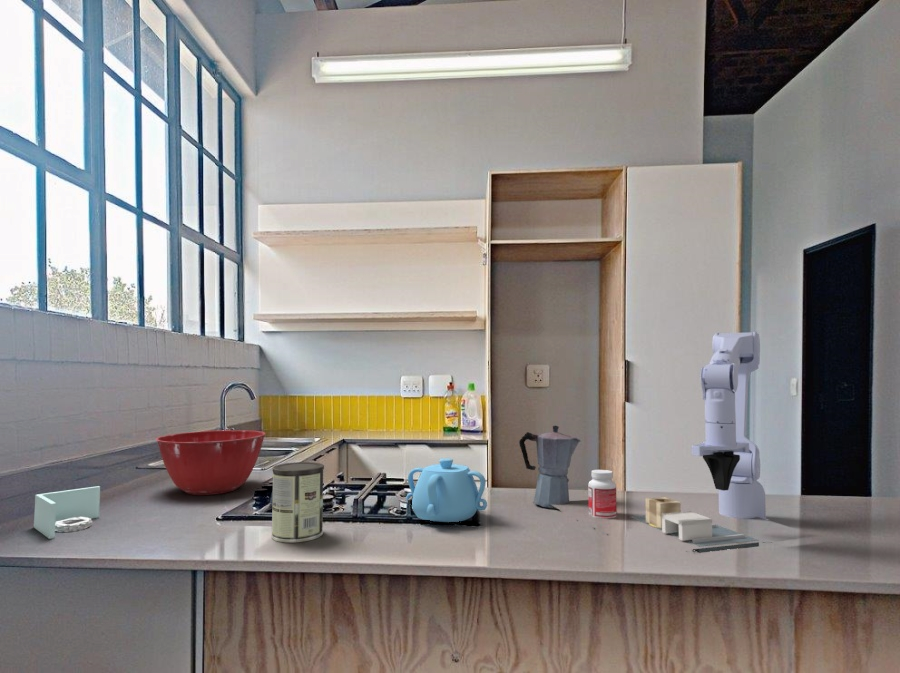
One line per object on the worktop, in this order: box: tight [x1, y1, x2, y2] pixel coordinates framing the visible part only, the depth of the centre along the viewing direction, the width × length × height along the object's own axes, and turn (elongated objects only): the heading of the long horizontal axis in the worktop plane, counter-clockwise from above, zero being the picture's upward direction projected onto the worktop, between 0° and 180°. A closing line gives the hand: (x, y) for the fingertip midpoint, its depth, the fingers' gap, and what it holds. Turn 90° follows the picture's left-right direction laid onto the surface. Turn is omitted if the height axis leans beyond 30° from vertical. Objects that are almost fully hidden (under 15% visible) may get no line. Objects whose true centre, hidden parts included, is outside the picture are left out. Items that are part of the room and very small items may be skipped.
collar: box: [644, 496, 682, 528], centre depth 119 cm, size 5×5×5 cm
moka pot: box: [519, 425, 581, 509], centre depth 141 cm, size 10×15×20 cm, turn 89°
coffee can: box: [271, 461, 325, 543], centre depth 115 cm, size 10×10×14 cm
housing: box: [661, 510, 713, 541], centre depth 111 cm, size 7×6×4 cm
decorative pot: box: [405, 457, 488, 523], centre depth 128 cm, size 16×16×14 cm
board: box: [630, 514, 760, 554], centre depth 117 cm, size 14×22×4 cm, turn 17°
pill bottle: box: [587, 469, 618, 520], centre depth 127 cm, size 6×6×11 cm
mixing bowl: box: [156, 429, 266, 496], centre depth 157 cm, size 28×28×15 cm
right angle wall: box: [33, 485, 101, 540], centre depth 120 cm, size 12×12×8 cm
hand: (721, 489), depth 114 cm, fingers closed
